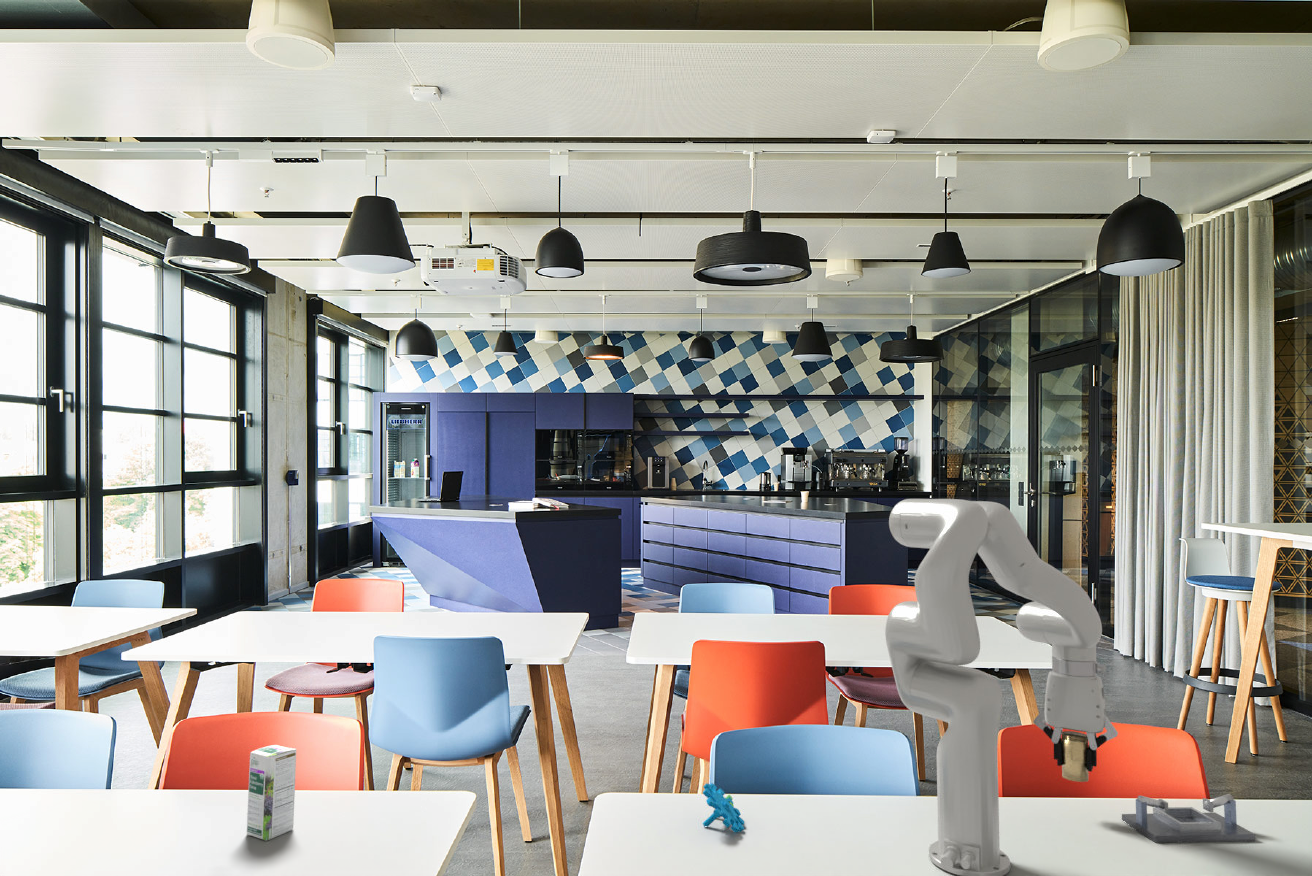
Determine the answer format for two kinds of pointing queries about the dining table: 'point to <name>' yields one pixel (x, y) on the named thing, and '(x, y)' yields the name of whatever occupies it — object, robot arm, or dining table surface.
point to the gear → (722, 808)
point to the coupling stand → (1187, 822)
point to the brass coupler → (1074, 756)
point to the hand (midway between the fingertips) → (1075, 765)
